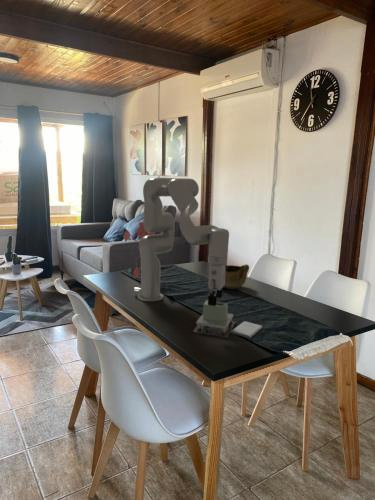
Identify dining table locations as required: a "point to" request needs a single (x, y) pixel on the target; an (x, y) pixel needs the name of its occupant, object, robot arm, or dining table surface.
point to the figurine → (140, 233)
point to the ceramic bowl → (235, 276)
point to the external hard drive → (246, 329)
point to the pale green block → (215, 311)
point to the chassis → (215, 326)
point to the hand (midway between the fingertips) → (214, 301)
